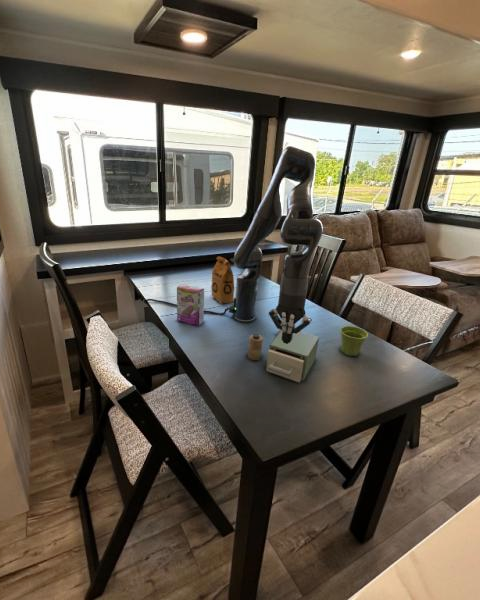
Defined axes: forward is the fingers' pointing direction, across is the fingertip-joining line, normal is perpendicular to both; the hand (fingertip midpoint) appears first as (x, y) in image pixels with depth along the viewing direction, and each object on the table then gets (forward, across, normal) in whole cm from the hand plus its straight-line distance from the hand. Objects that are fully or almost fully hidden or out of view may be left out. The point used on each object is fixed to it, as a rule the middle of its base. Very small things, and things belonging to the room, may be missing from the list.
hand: (286, 342), depth 95 cm
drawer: (+14, 0, -5) cm, 15 cm away
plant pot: (+15, -16, -31) cm, 38 cm away
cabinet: (+14, 0, -11) cm, 18 cm away
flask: (+15, +8, -29) cm, 34 cm away
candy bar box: (+14, +48, -18) cm, 54 cm away
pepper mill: (+14, +13, -8) cm, 21 cm away
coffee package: (+14, +49, -48) cm, 70 cm away
